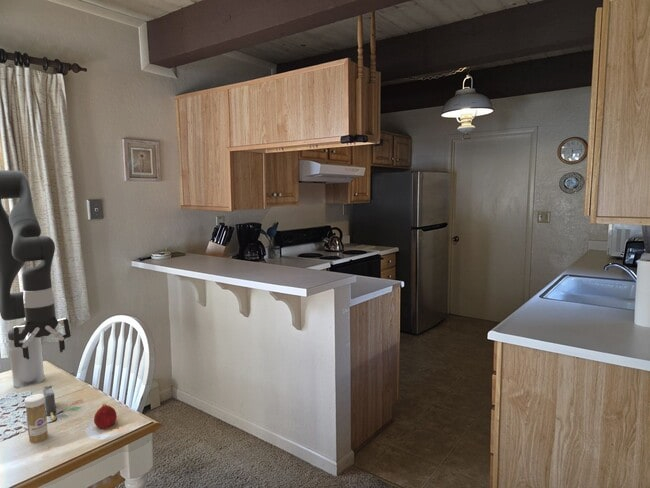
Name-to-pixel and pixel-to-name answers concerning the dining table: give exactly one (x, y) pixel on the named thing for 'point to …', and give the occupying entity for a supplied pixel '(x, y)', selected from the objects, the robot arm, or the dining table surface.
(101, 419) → the onion
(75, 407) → the tuner board
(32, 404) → the sprinkles bottle
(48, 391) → the peg knob
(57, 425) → the dining table surface
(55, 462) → the dining table surface
